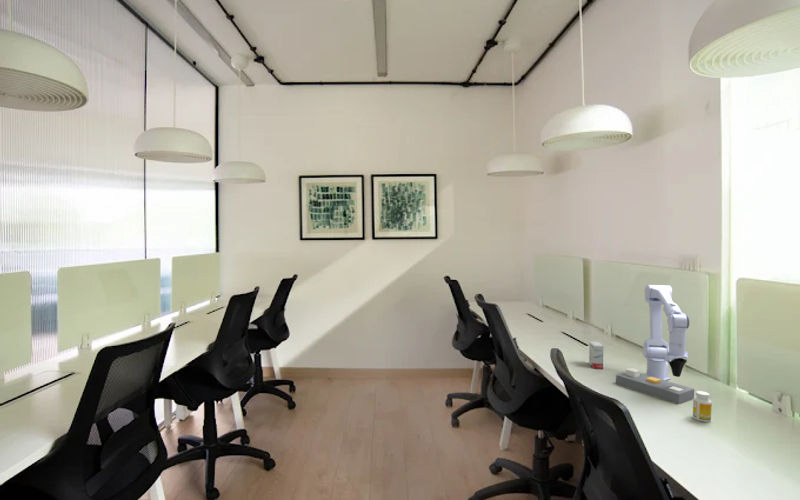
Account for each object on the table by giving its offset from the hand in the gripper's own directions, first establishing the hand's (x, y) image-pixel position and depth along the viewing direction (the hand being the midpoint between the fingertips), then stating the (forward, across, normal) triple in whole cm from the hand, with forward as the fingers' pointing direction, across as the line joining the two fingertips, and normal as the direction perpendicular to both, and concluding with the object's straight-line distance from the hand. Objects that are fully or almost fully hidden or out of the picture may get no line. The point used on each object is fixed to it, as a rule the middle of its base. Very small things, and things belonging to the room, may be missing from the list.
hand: (676, 376), depth 168 cm
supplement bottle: (+9, -13, -15) cm, 22 cm away
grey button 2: (+9, 0, 0) cm, 9 cm away
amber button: (+7, 0, +9) cm, 12 cm away
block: (+6, 0, +18) cm, 19 cm away
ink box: (+10, +9, +42) cm, 44 cm away
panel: (+9, 0, +9) cm, 13 cm away
